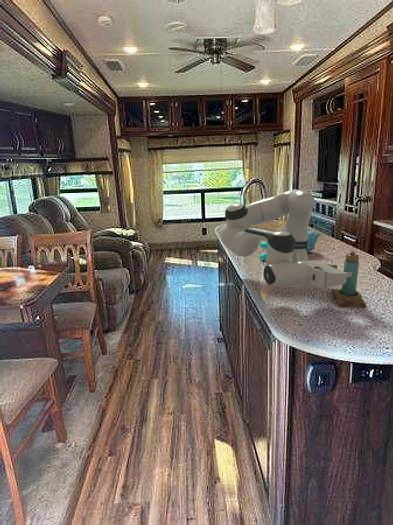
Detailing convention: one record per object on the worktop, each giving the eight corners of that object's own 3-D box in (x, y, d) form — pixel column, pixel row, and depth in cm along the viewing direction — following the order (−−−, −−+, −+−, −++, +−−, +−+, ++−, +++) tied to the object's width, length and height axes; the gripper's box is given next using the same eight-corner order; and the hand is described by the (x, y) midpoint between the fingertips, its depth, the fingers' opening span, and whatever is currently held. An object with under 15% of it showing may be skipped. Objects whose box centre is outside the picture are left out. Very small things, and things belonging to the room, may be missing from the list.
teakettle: (292, 257, 202) (293, 231, 198) (280, 249, 220) (281, 226, 216) (323, 255, 204) (325, 230, 201) (308, 248, 222) (310, 225, 219)
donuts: (281, 241, 196) (276, 244, 187) (280, 258, 199) (275, 262, 190) (263, 239, 200) (258, 243, 192) (263, 256, 203) (257, 260, 195)
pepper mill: (342, 298, 132) (347, 252, 128) (339, 294, 137) (344, 249, 132) (356, 299, 131) (361, 252, 127) (353, 294, 136) (358, 249, 132)
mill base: (337, 306, 130) (338, 298, 129) (331, 292, 144) (331, 285, 143) (365, 307, 128) (366, 299, 127) (356, 293, 142) (356, 286, 141)
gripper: (295, 273, 139) (327, 270, 141) (322, 289, 120) (359, 287, 122) (296, 257, 137) (328, 255, 140) (323, 272, 118) (361, 269, 120)
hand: (343, 270), depth 131 cm, fingers open, 8 cm apart
